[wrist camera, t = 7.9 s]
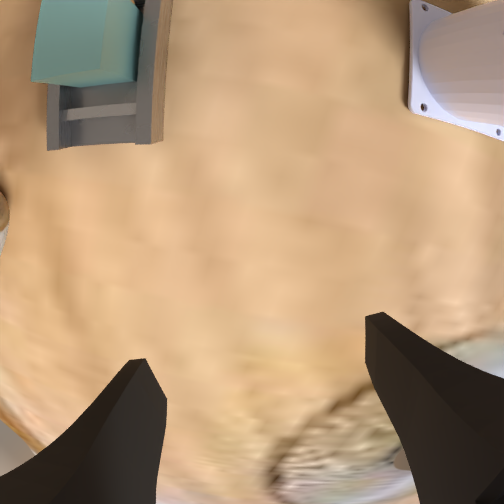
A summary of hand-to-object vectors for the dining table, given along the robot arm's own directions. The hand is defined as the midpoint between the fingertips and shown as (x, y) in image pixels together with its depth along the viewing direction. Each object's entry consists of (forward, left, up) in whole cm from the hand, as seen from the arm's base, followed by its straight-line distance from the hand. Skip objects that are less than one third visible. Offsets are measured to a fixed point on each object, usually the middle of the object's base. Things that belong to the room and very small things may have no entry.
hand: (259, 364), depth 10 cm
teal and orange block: (+8, -11, -9) cm, 17 cm away
